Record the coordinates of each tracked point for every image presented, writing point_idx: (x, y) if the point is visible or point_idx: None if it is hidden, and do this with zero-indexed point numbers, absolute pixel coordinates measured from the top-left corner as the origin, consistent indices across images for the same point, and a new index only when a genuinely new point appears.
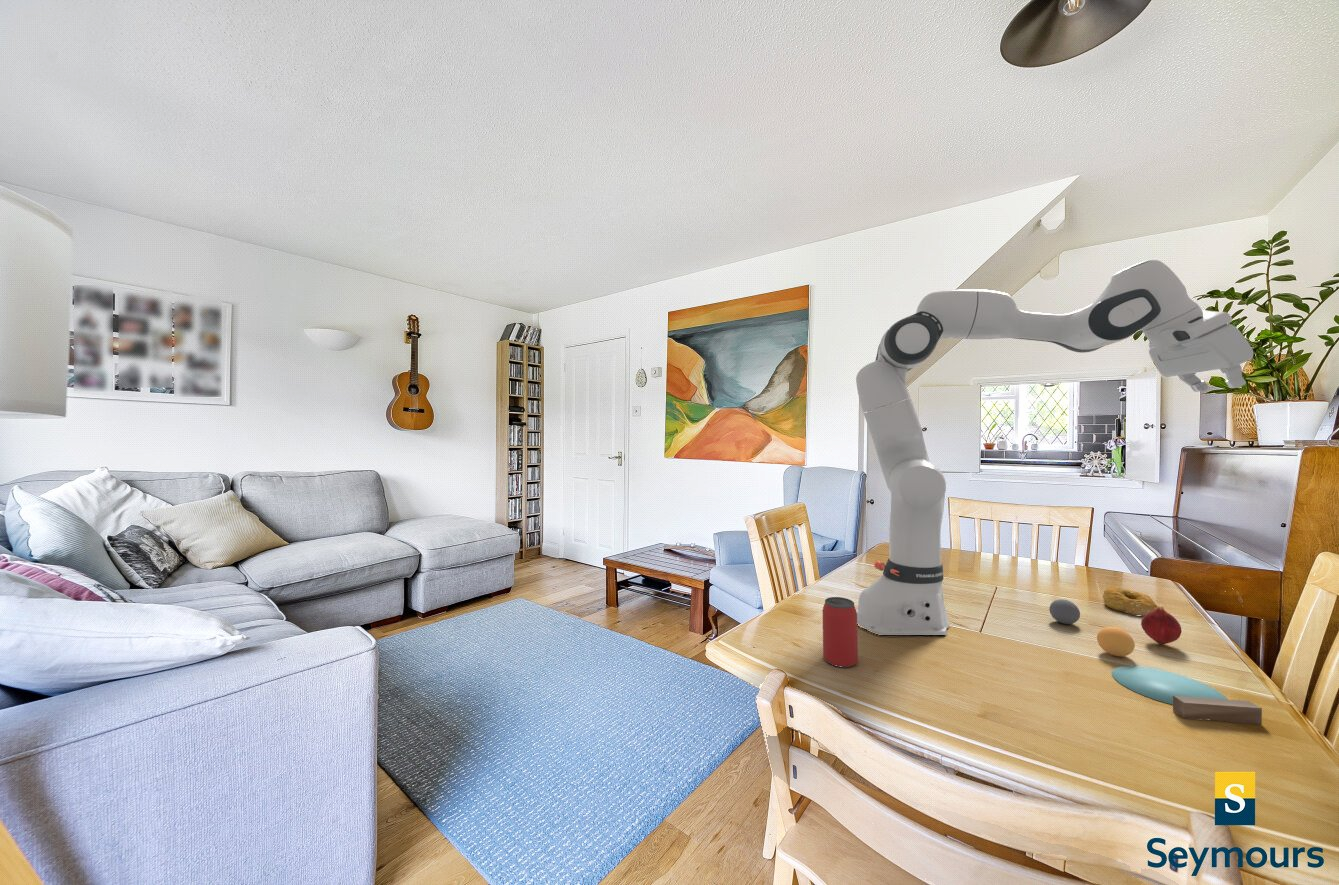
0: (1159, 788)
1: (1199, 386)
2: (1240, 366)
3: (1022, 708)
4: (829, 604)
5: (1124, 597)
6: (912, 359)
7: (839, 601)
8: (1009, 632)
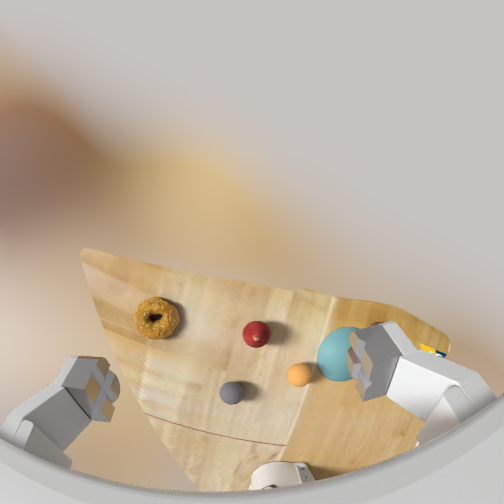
0: None
1: (107, 398)
2: (478, 377)
3: (393, 422)
4: None
5: (163, 327)
6: None
7: None
8: (277, 429)
